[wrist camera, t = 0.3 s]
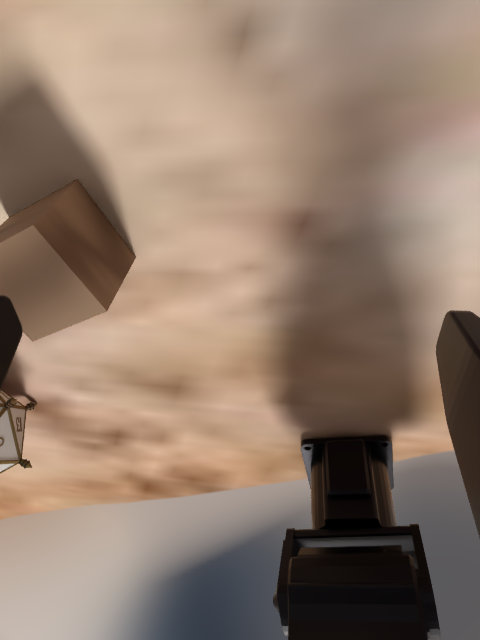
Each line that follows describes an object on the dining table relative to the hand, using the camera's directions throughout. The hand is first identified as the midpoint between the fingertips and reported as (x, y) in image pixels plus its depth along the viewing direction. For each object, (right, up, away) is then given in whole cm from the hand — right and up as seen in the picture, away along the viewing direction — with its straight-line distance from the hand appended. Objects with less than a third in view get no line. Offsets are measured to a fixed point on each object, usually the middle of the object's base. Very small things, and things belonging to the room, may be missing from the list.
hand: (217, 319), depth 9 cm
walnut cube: (-9, +5, +16) cm, 19 cm away
